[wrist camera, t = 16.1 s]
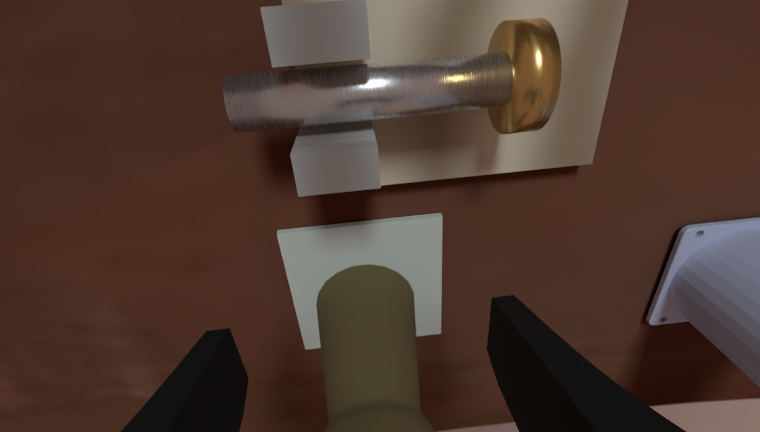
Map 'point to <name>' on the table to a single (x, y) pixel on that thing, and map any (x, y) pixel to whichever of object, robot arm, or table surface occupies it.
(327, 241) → the pale green mat
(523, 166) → the shaft bracket
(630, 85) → the table surface
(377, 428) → the olive stepped cylinder
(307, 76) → the shaft
